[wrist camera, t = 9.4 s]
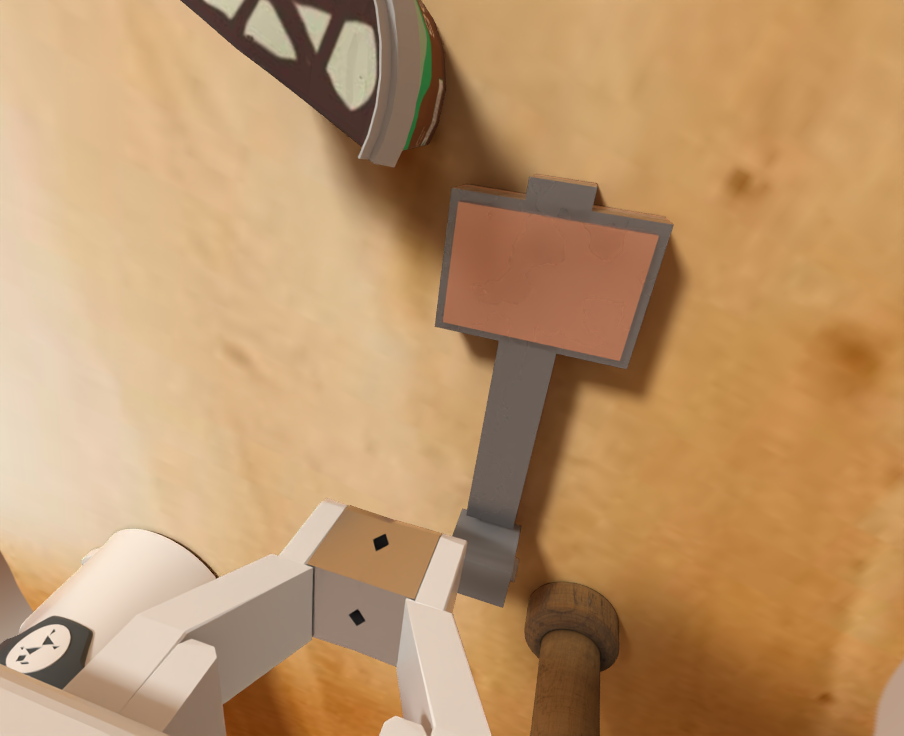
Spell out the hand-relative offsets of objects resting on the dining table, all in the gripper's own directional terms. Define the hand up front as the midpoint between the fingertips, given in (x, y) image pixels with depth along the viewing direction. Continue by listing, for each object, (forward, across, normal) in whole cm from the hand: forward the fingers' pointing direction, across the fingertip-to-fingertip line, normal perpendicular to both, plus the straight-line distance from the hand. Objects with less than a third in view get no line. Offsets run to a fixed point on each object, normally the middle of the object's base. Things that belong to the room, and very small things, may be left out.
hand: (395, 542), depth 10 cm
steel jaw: (+18, +1, -4) cm, 18 cm away
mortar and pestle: (+20, +8, -23) cm, 31 cm away
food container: (+20, -9, +12) cm, 24 cm away
